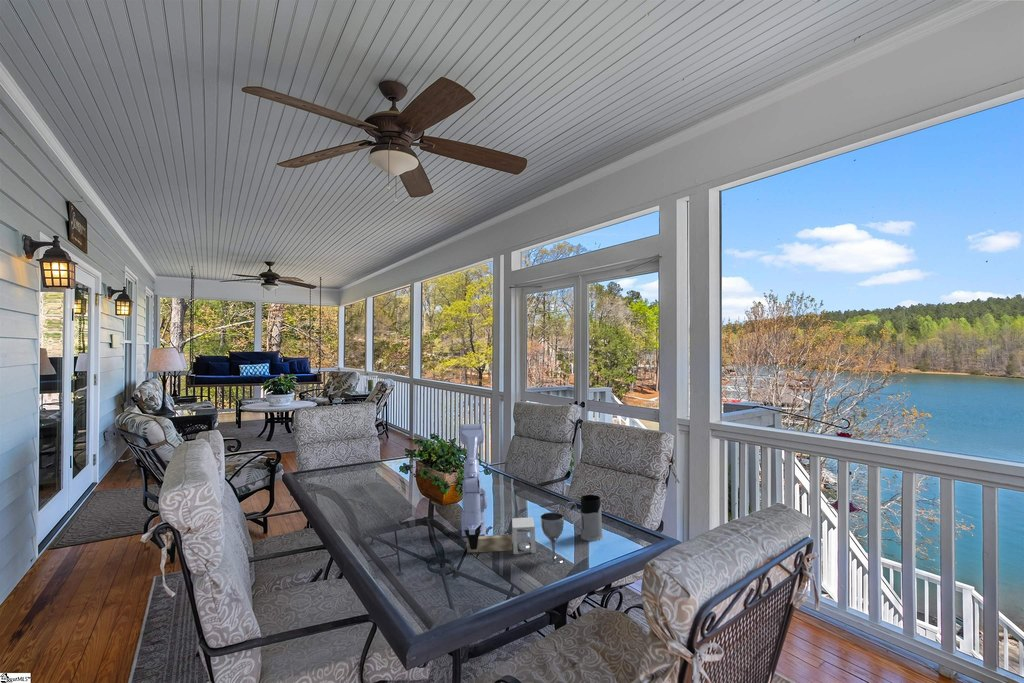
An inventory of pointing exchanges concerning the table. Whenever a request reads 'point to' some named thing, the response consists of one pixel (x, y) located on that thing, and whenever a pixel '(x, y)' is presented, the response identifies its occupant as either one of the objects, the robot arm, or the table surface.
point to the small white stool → (523, 531)
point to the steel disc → (524, 546)
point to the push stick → (492, 543)
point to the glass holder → (590, 517)
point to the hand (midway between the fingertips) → (474, 546)
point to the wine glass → (552, 533)
